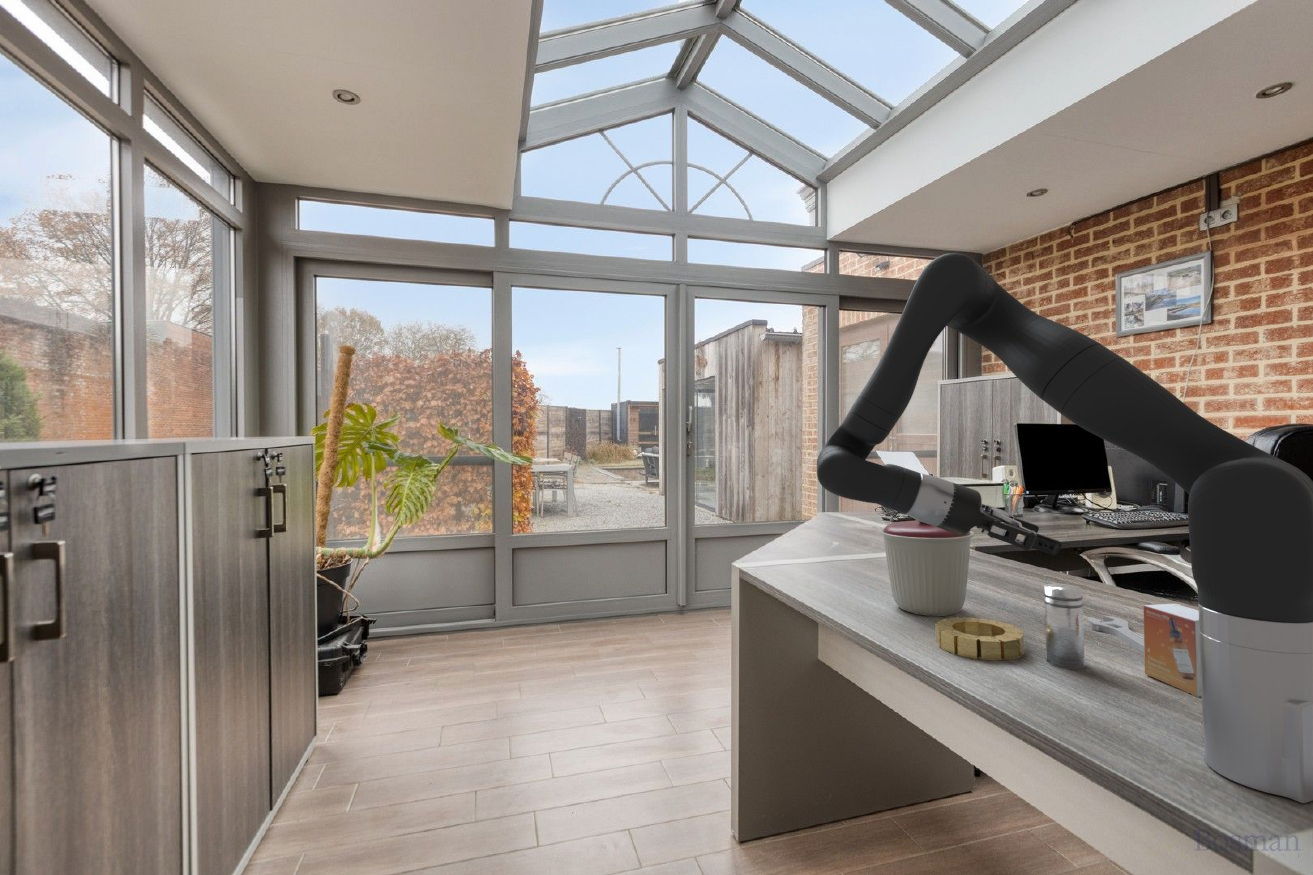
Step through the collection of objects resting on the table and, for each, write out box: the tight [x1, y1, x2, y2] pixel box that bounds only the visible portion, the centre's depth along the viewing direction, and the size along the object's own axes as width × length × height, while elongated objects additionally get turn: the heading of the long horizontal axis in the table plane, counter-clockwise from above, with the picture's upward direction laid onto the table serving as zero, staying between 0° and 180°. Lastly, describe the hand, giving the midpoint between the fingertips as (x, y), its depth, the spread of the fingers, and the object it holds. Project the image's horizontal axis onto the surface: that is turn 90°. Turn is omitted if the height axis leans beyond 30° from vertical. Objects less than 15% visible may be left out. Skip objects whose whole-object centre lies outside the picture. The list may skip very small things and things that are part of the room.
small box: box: [1143, 603, 1202, 698], centre depth 85 cm, size 8×6×10 cm
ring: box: [934, 616, 1026, 661], centre depth 103 cm, size 13×13×3 cm
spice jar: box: [1043, 583, 1086, 670], centre depth 95 cm, size 5×5×12 cm
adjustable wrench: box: [1087, 615, 1144, 654], centre depth 102 cm, size 25×6×2 cm, turn 163°
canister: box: [879, 520, 975, 617], centre depth 126 cm, size 18×18×21 cm
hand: (1047, 540), depth 92 cm, fingers open, 8 cm apart
